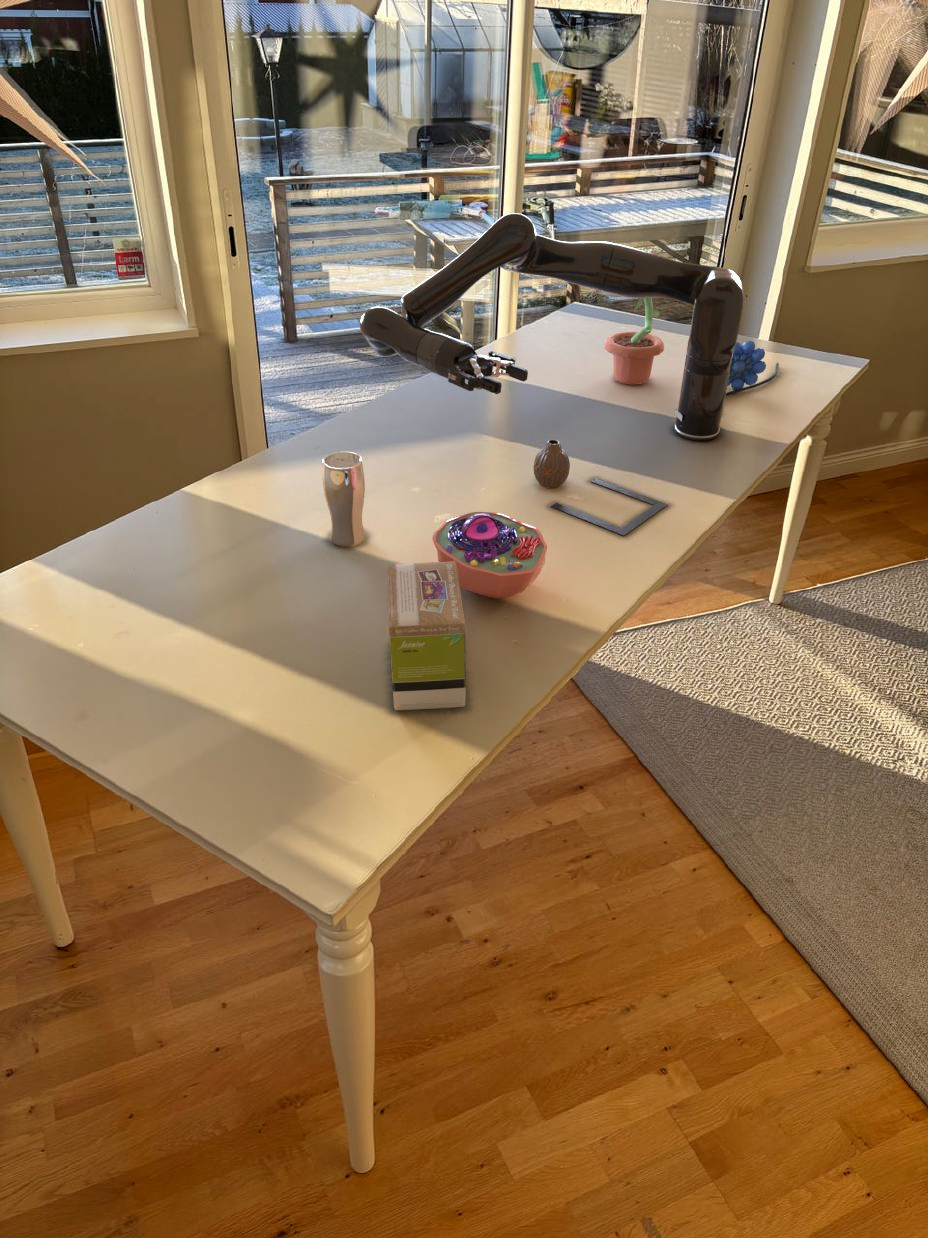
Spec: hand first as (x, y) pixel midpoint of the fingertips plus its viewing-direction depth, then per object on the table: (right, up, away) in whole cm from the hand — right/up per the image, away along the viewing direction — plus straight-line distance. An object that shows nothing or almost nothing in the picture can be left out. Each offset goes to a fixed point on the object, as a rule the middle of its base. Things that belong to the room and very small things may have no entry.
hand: (513, 382), depth 172 cm
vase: (+7, -18, +7) cm, 21 cm away
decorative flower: (+31, +14, +51) cm, 62 cm away
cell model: (-5, -39, -22) cm, 45 cm away
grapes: (+55, +10, +47) cm, 73 cm away
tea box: (-15, -52, -41) cm, 68 cm away
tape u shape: (+18, -23, 0) cm, 29 cm away
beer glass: (-30, -30, -10) cm, 43 cm away
